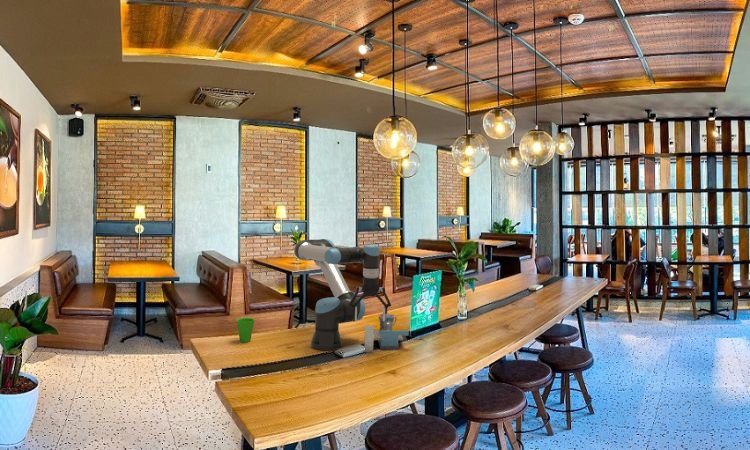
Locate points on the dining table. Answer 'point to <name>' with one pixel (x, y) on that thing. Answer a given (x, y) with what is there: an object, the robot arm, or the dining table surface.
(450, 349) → the dining table surface
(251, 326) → the cup
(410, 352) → the dining table surface
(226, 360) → the dining table surface
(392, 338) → the notched panel with ball
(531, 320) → the dining table surface
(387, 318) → the mug
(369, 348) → the grey rectangular block
